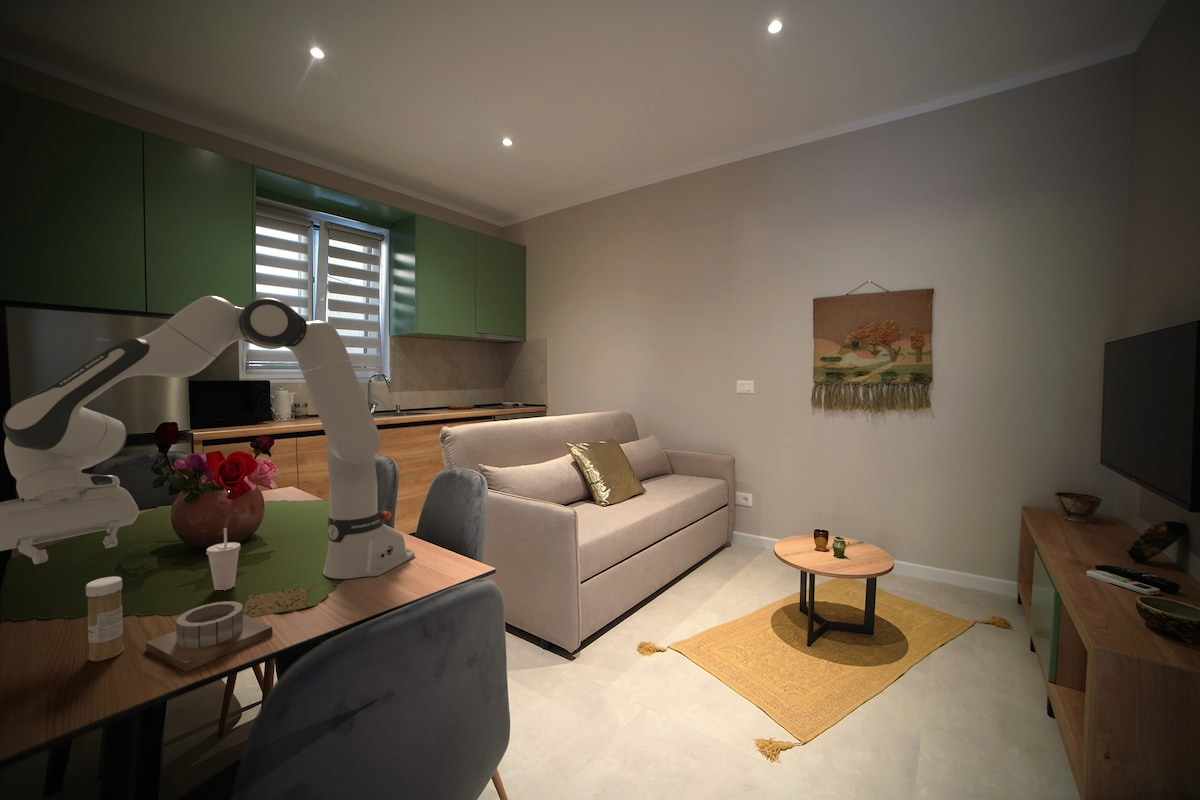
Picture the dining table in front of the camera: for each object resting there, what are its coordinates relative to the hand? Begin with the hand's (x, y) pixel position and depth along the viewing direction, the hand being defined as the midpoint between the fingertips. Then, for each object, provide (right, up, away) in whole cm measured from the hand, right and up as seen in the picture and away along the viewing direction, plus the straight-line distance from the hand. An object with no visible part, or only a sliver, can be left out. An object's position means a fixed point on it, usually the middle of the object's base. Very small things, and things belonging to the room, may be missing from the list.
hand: (78, 553), depth 93 cm
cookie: (+26, -17, +17) cm, 35 cm away
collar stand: (+24, -17, +1) cm, 29 cm away
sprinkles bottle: (+9, -17, -4) cm, 20 cm away
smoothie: (+9, -16, +24) cm, 30 cm away
